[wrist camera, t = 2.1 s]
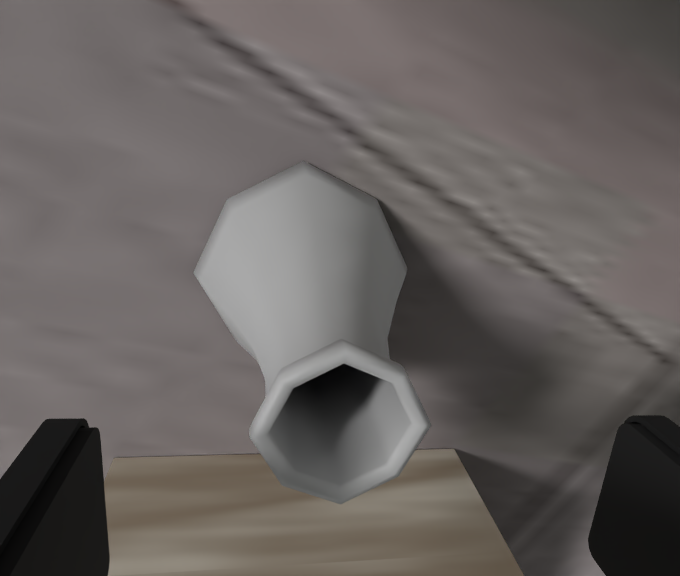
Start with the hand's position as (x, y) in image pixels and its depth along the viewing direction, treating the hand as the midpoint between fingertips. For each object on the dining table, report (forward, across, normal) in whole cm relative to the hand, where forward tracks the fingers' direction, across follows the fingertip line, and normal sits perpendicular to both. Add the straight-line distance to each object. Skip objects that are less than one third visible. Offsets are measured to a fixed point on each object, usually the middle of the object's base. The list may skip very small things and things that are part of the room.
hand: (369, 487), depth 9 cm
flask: (+11, +1, -1) cm, 11 cm away
